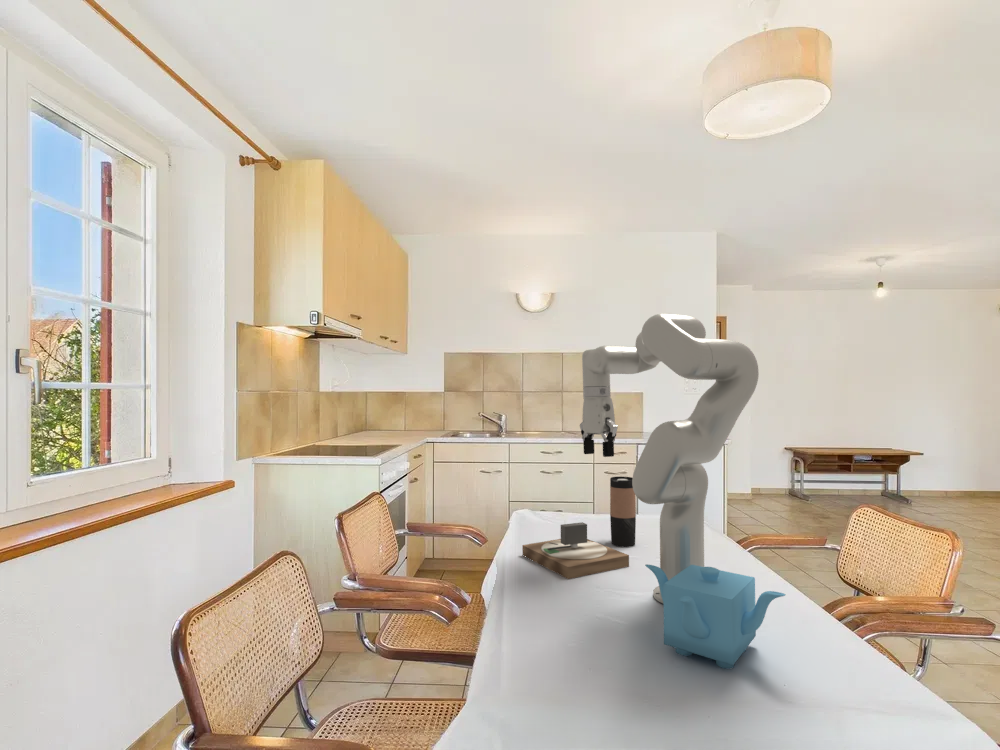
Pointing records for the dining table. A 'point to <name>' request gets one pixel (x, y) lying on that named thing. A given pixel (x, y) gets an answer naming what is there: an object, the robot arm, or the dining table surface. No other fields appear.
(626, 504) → the travel mug
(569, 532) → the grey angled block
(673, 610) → the teakettle
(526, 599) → the dining table surface
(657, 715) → the dining table surface
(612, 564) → the brown wooden flat block
